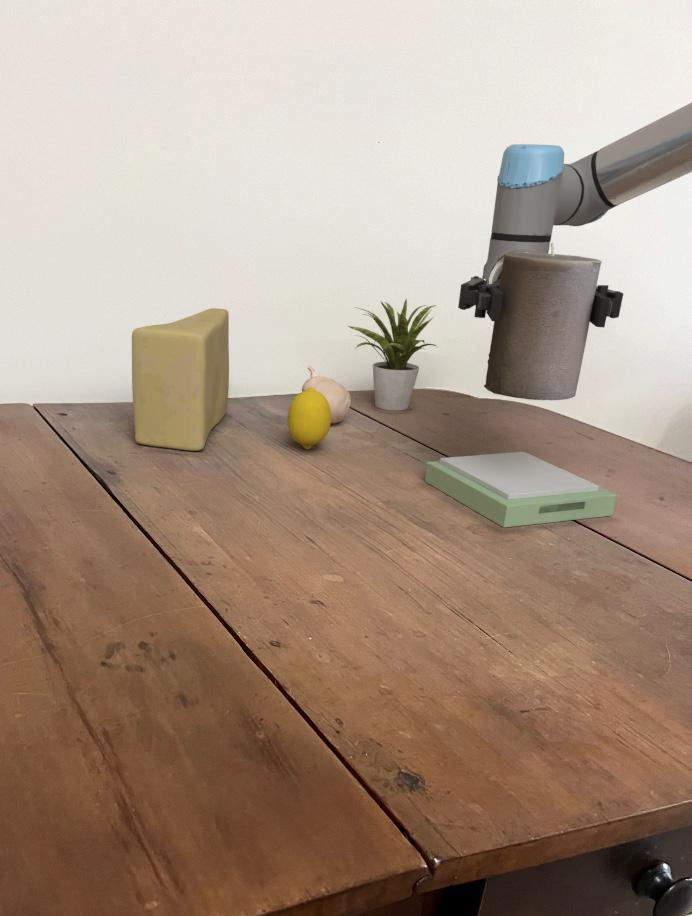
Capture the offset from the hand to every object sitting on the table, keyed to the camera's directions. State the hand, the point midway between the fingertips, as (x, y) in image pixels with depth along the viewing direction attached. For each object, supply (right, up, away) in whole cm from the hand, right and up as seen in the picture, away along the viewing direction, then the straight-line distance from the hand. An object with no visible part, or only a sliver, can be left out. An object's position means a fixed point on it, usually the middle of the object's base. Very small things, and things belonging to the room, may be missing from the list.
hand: (550, 310), depth 91 cm
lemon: (-22, -9, +28) cm, 37 cm away
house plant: (-7, +2, +53) cm, 53 cm away
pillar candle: (0, -6, +8) cm, 10 cm away
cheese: (-37, -5, +35) cm, 51 cm away
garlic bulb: (-19, -4, +41) cm, 45 cm away
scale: (0, -17, +12) cm, 21 cm away
